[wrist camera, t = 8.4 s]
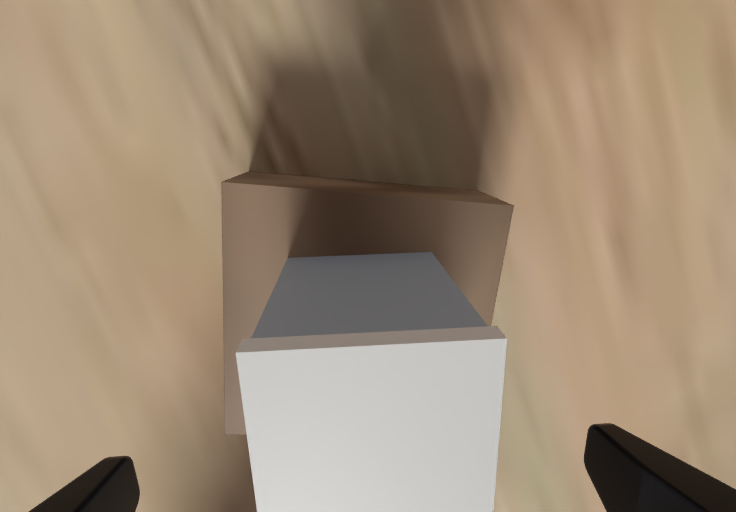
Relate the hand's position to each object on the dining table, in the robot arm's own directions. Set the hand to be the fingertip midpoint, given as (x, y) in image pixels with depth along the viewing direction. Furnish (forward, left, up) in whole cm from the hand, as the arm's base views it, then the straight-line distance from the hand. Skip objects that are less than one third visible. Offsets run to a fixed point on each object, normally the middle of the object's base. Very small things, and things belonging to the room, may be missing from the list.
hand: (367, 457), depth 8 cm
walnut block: (0, 0, -10) cm, 10 cm away
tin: (0, 0, -6) cm, 6 cm away
